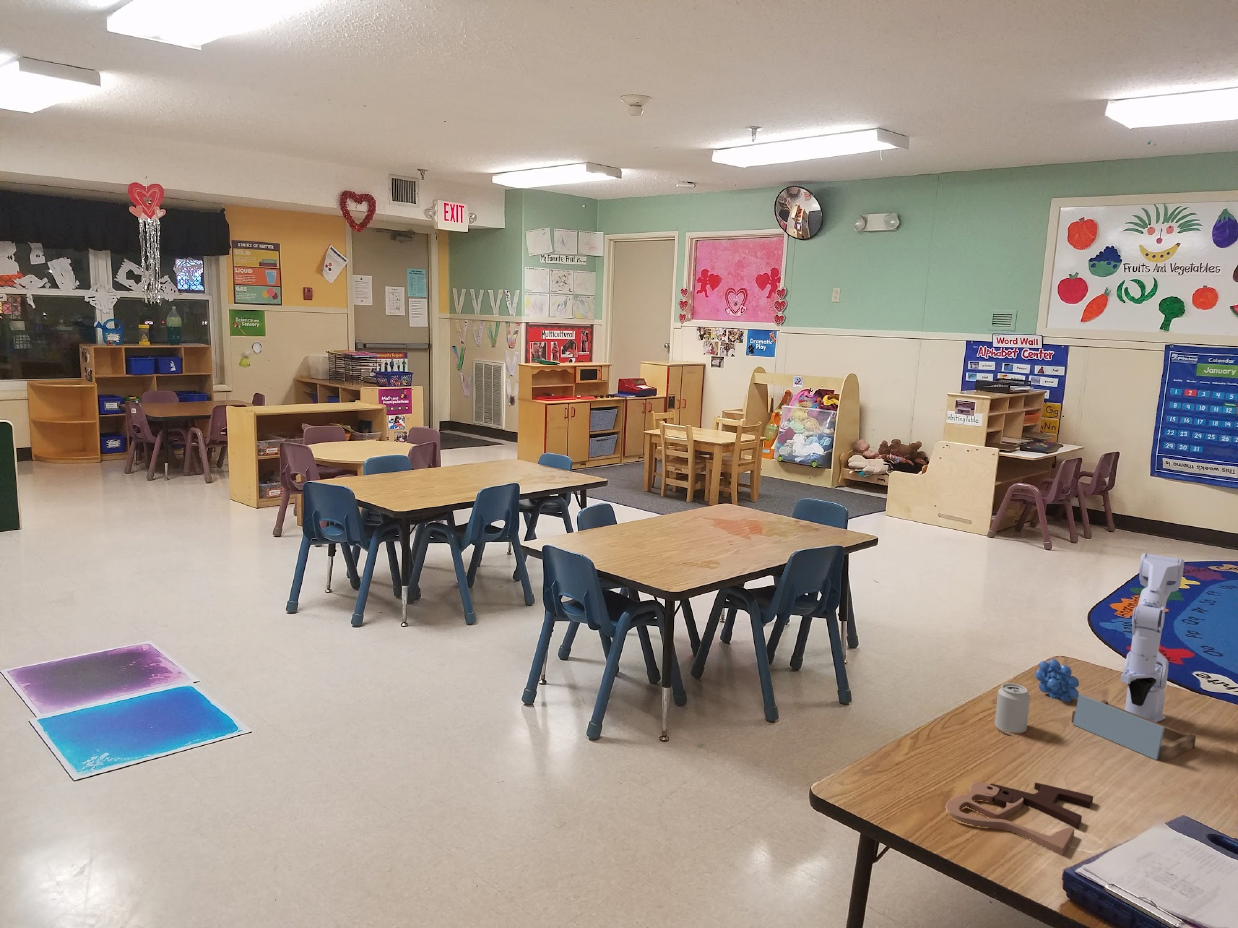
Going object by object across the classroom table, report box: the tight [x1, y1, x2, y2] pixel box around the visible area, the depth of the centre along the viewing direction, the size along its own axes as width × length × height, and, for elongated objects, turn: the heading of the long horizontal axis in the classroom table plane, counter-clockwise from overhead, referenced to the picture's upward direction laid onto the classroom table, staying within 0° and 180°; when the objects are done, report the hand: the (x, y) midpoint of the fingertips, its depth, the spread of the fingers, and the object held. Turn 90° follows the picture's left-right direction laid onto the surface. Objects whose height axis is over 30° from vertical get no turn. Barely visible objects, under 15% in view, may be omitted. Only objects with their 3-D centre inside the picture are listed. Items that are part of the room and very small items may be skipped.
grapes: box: [1034, 658, 1080, 703], centre depth 247 cm, size 12×7×12 cm, turn 47°
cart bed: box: [1071, 700, 1197, 762], centre depth 227 cm, size 14×23×4 cm, turn 31°
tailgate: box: [1072, 693, 1165, 761], centre depth 223 cm, size 1×21×8 cm, turn 31°
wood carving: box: [945, 781, 1094, 856], centre depth 194 cm, size 28×2×24 cm
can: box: [994, 682, 1031, 738], centre depth 230 cm, size 8×8×12 cm
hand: (1137, 704), depth 226 cm, fingers closed
